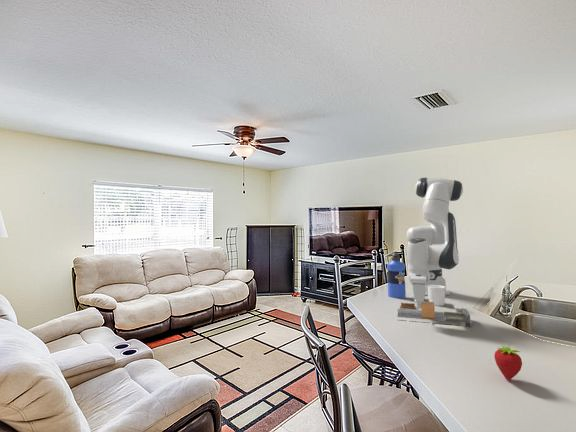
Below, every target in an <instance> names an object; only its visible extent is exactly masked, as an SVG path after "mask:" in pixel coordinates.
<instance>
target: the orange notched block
mask: <svg viewBox="0 0 576 432" xmlns="http://www.w3.org/2000/svg"><path fill="white" fill-rule="evenodd" d="M421 306H422V308H421V309H420V310H422V317H427V318H435V310H436V309H435V305H434V302H429V301H424V302H423V303H422V304H421Z"/></svg>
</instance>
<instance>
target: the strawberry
mask: <svg viewBox="0 0 576 432" xmlns="http://www.w3.org/2000/svg"><path fill="white" fill-rule="evenodd" d="M511 344H512V342H510V343H509V344H508V346H504V345H501V347H498V348H497V349H496V351H494V357H493V358H494V360H495V363H496V364H495V365H496V366H497V368H498V369H499V371H500V373H501V374H502V375H503V377H504V379H506V380H507V381H511V380H512V379H513V378H515V377H516V376H517V375H518V374H519V373H520V372H521V370H522V366H523V361H522V358H521V356H520V354H518V353H521V351H520V350H517V349H512V348H511V347H509V346H510V345H511Z"/></svg>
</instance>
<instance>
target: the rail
mask: <svg viewBox="0 0 576 432" xmlns="http://www.w3.org/2000/svg"><path fill="white" fill-rule="evenodd" d="M396 317H397V318H406V319H416V320H417V319H419V320H427V321H428V320H430V321H440V322H452V323H454V322H455V323H460V324H461V325H460V324H455V326H457V327H468V328H473V322H472V321H471V315H470V313H469V311H468V309H467V308H462V307H461V312H458V311H457V312H455V311H454V312H453V311H435V318H427V317H422V309H416V310H409V309H400V308H397V316H396ZM416 320H415V321H414V320H410V322H412V323H413V322H414V323H418V321H416ZM398 321H399V322H400V321H401V322H406V320H404V319H398ZM427 321H421V323H426V324H429V322H427ZM434 324H435V325H441V323H437V322H433V325H434ZM444 325H447V326H452V324H450V323H444Z"/></svg>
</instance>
